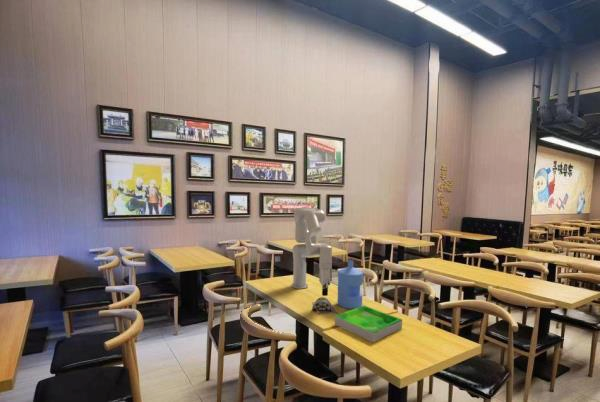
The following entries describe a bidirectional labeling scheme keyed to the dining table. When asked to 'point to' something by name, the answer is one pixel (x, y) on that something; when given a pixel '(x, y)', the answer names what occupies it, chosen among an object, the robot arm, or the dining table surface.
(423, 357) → the dining table surface
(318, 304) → the food container
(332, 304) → the mat
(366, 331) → the tray
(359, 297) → the water jug
